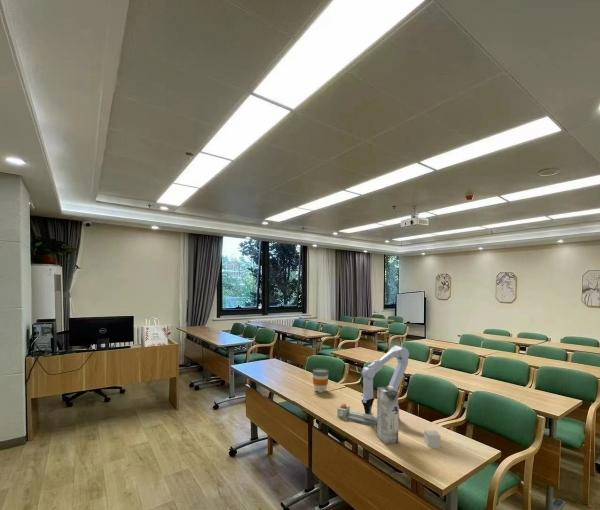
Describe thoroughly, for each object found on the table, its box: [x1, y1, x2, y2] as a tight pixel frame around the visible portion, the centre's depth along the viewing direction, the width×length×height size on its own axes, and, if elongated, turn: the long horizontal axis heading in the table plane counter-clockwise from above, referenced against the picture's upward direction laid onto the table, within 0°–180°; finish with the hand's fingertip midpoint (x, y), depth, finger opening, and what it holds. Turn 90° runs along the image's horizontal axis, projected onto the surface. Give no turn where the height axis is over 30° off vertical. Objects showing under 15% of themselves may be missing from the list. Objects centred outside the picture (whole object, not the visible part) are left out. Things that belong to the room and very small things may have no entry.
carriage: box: [362, 406, 374, 420], centre depth 191 cm, size 5×4×7 cm
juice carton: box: [376, 385, 399, 445], centre depth 168 cm, size 9×10×27 cm
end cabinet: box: [336, 404, 351, 419], centre depth 198 cm, size 5×8×5 cm, turn 151°
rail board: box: [344, 411, 377, 427], centre depth 192 cm, size 18×10×3 cm, turn 61°
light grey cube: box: [423, 429, 442, 449], centre depth 163 cm, size 6×6×6 cm
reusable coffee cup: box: [312, 368, 330, 393], centre depth 247 cm, size 13×13×15 cm
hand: (368, 411), depth 191 cm, fingers open, 4 cm apart
